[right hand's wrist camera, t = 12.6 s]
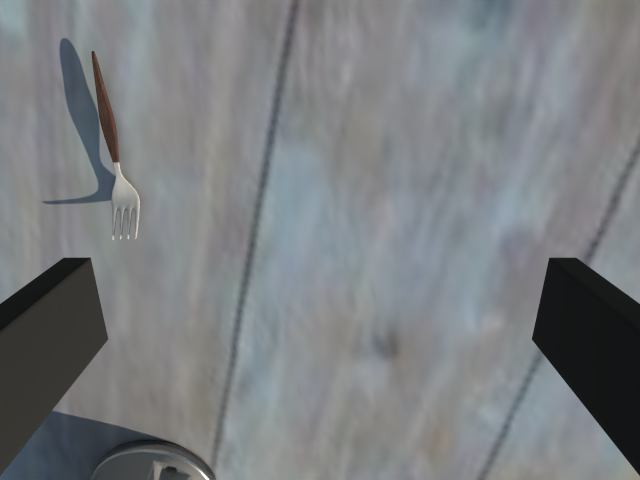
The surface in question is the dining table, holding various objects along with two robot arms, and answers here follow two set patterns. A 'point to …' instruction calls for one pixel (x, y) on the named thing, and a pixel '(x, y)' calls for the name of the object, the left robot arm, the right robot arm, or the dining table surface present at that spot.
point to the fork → (115, 158)
